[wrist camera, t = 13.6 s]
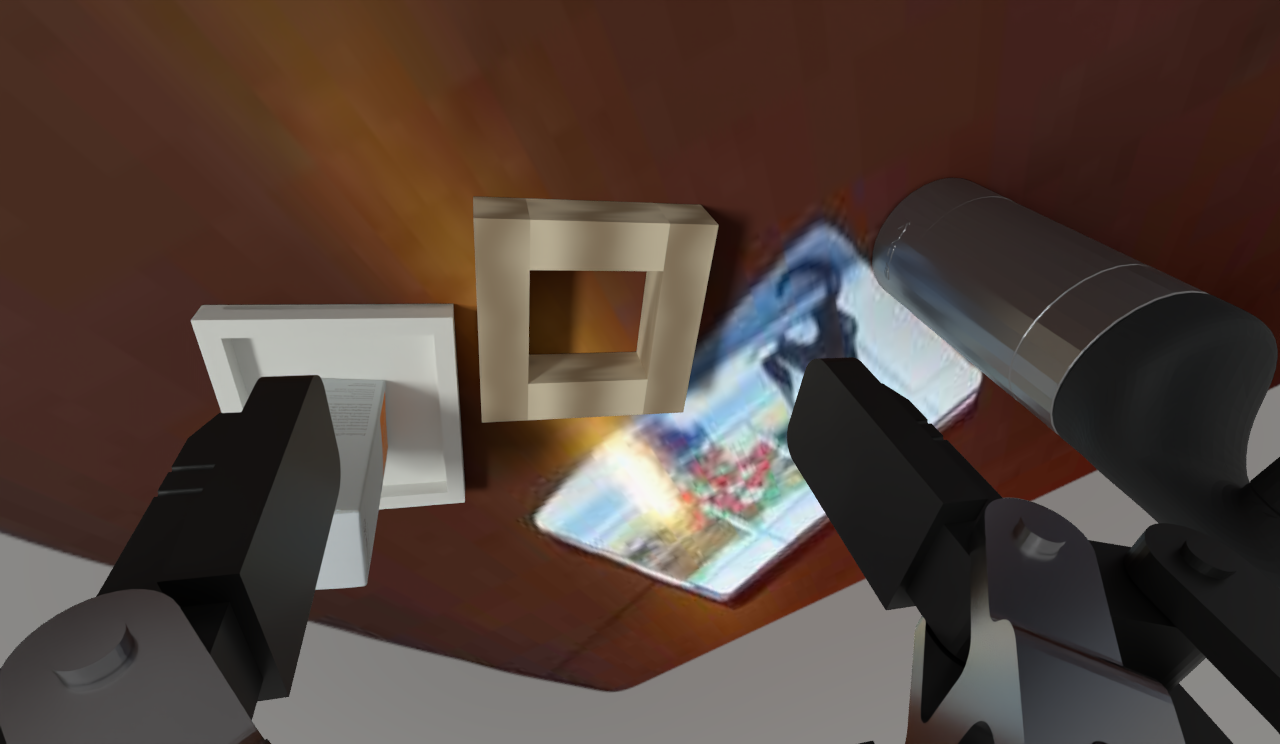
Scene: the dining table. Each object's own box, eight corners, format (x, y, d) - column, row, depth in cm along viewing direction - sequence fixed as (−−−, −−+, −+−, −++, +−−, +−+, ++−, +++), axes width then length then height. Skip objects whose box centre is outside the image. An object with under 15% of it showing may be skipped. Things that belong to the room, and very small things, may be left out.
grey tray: (453, 303, 39) (452, 317, 37) (465, 485, 48) (464, 502, 46) (201, 305, 35) (190, 320, 34) (264, 500, 44) (257, 519, 43)
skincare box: (390, 447, 43) (367, 589, 34) (324, 447, 42) (281, 595, 32) (387, 376, 40) (361, 512, 30) (315, 374, 39) (265, 515, 29)
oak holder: (700, 204, 39) (718, 224, 36) (670, 384, 46) (683, 412, 44) (473, 196, 35) (473, 218, 33) (481, 391, 43) (481, 422, 40)
